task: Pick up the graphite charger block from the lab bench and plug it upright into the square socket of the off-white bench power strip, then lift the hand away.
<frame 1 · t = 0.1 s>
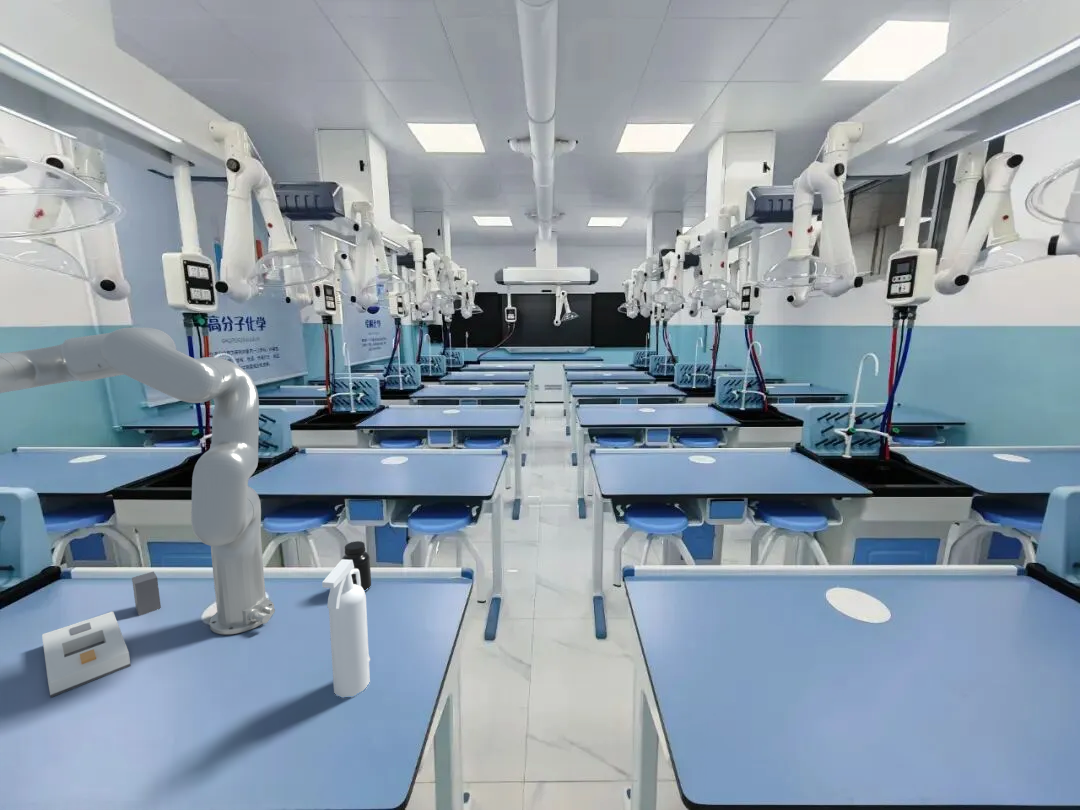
charger block: (148, 608, 111), on the table
white spray bottle: (353, 683, 89), on the table
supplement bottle: (357, 589, 121), on the table
power strip: (86, 656, 95), on the table
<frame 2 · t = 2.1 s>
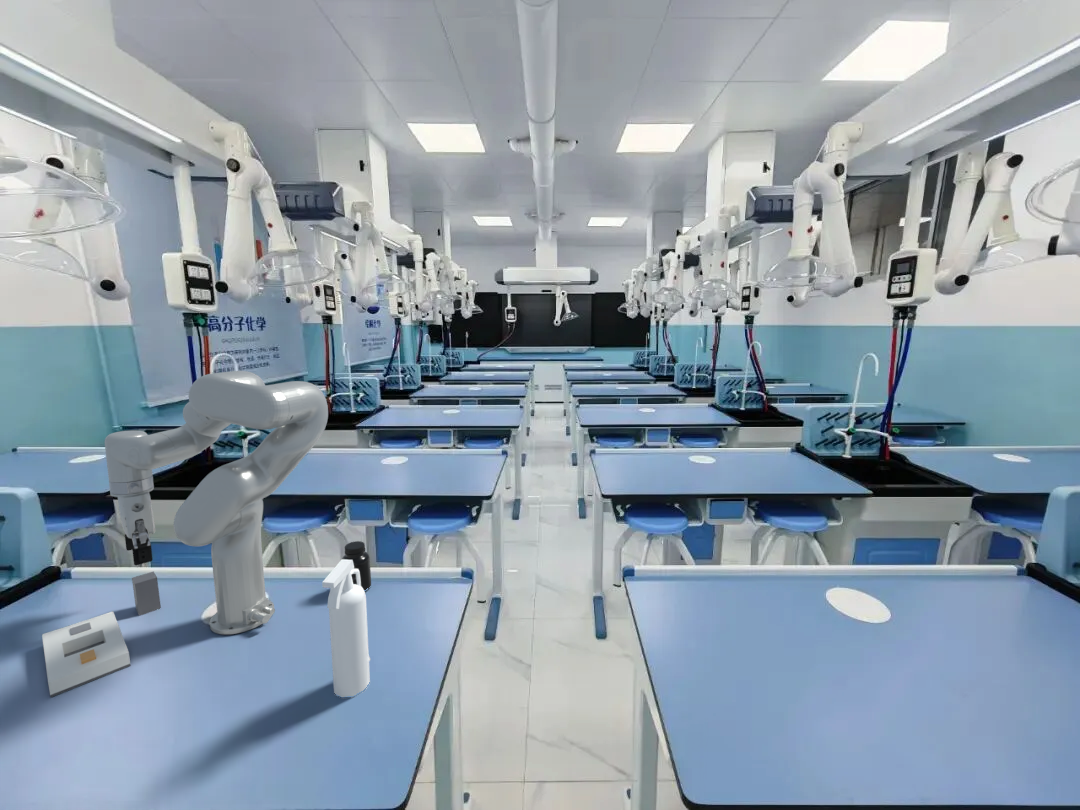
hand: (139, 555, 109), 13 cm above the table, tool pointing down, fingers open, 9 cm apart
nothing on the table moved.
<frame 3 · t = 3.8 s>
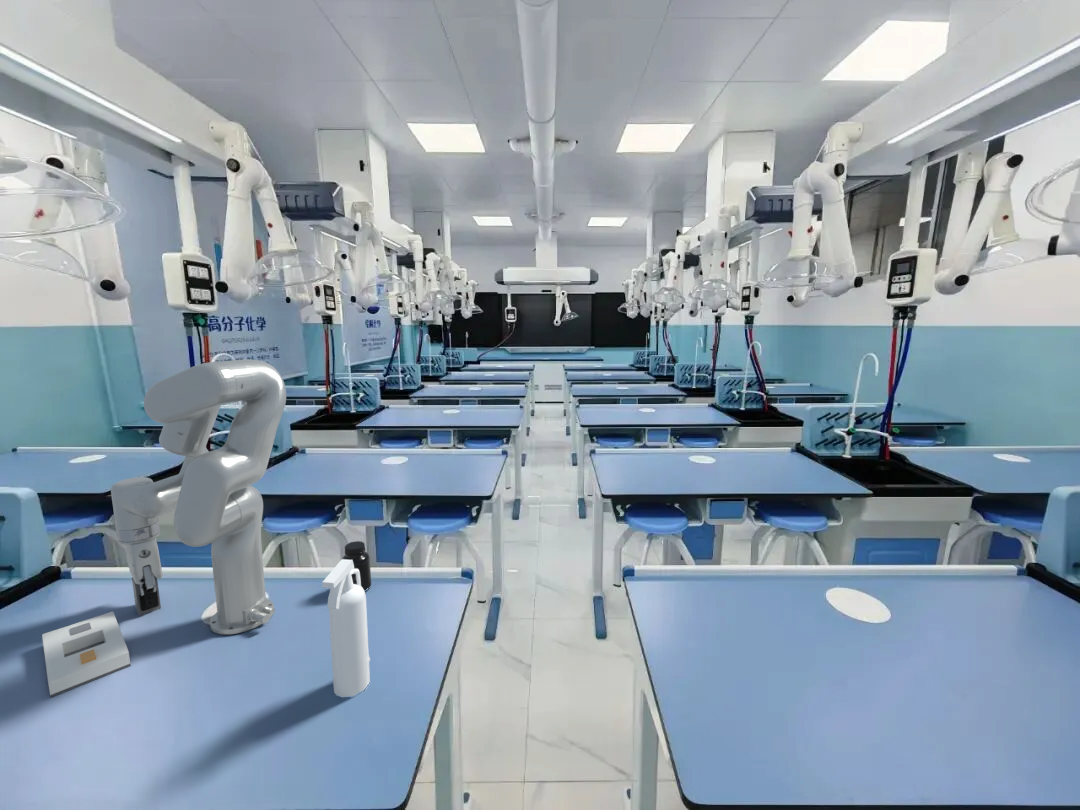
hand: (147, 603, 111), 1 cm above the table, tool pointing down, fingers closed on charger block, 4 cm apart
charger block: (148, 608, 111), on the table, touching gripper
everything else where it was.
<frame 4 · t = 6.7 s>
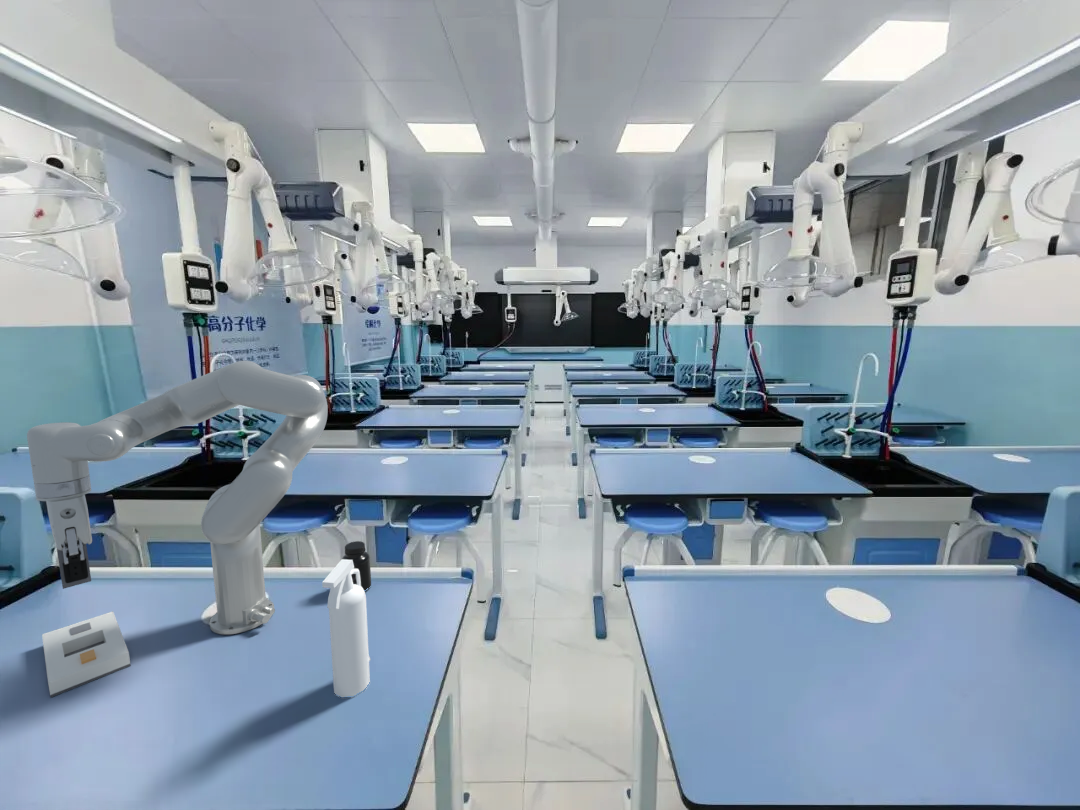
hand: (76, 574, 93), 17 cm above the table, tool pointing down, fingers closed on charger block, 4 cm apart
charger block: (76, 581, 93), point 16 cm above the table, touching gripper
everything else where it was.
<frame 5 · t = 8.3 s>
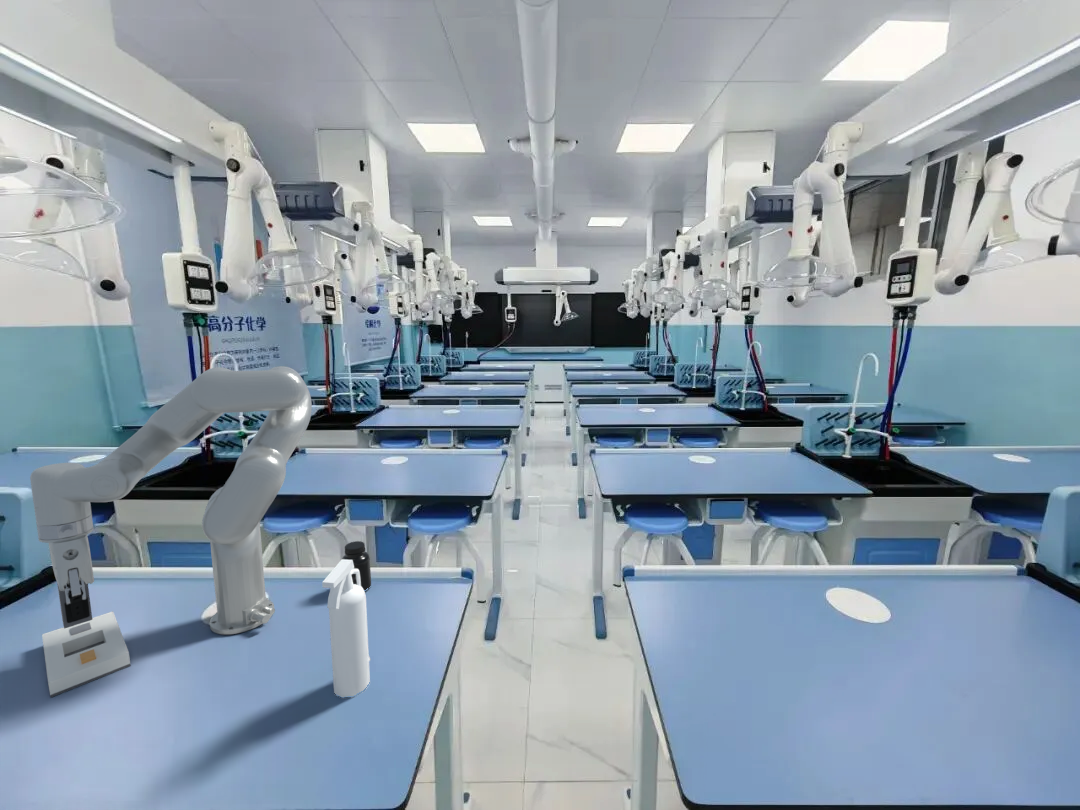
hand: (77, 613, 93), 10 cm above the table, tool pointing down, fingers closed on charger block, 4 cm apart
charger block: (77, 619, 94), point 8 cm above the table, touching gripper
everything else where it was.
when the fingers open (4 cm above the table, at t = 9.7 s): charger block drops 2 cm, resting on power strip.
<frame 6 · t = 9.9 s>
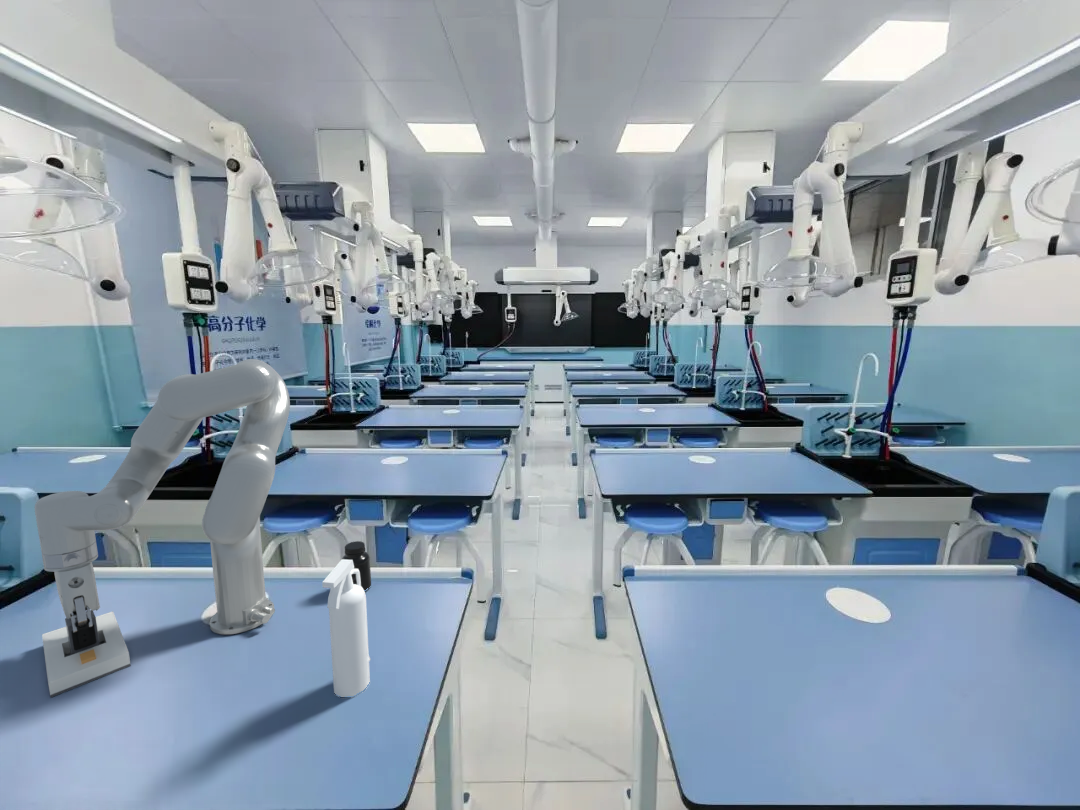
hand: (83, 638, 94), 4 cm above the table, tool pointing down, fingers open, 6 cm apart
charger block: (85, 654, 95), resting on power strip
everything else where it was.
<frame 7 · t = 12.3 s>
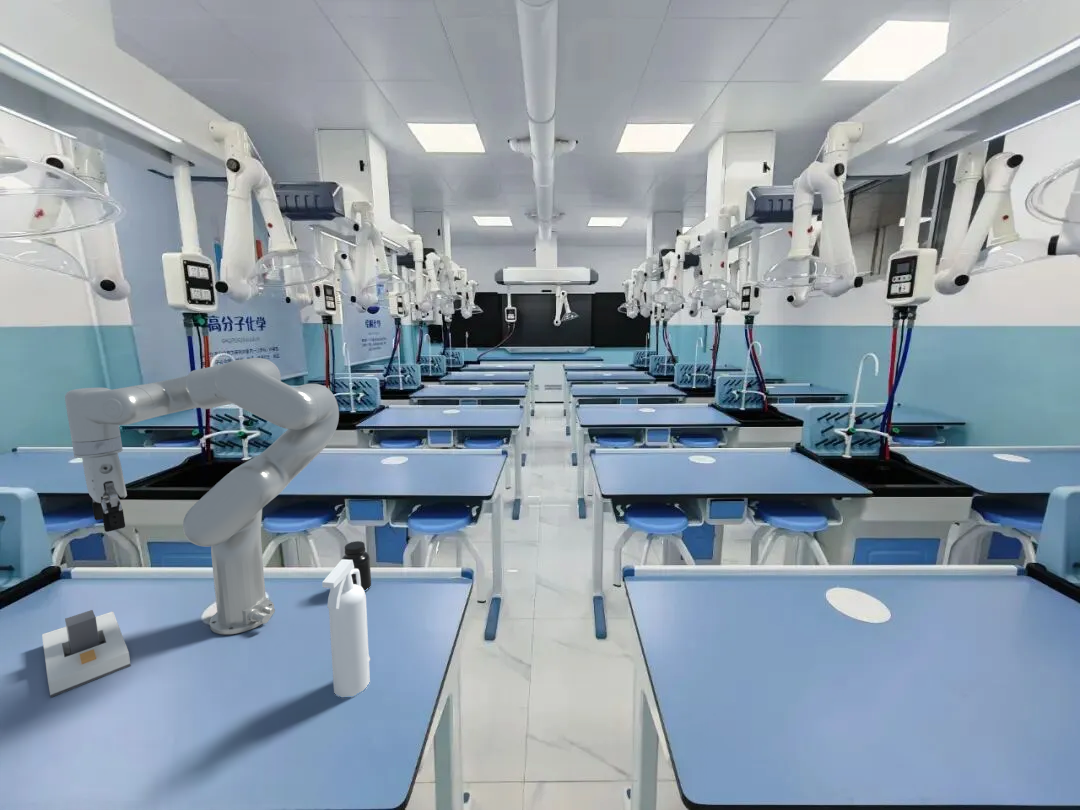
hand: (109, 523, 101), 24 cm above the table, tool pointing down, fingers open, 9 cm apart
nothing on the table moved.
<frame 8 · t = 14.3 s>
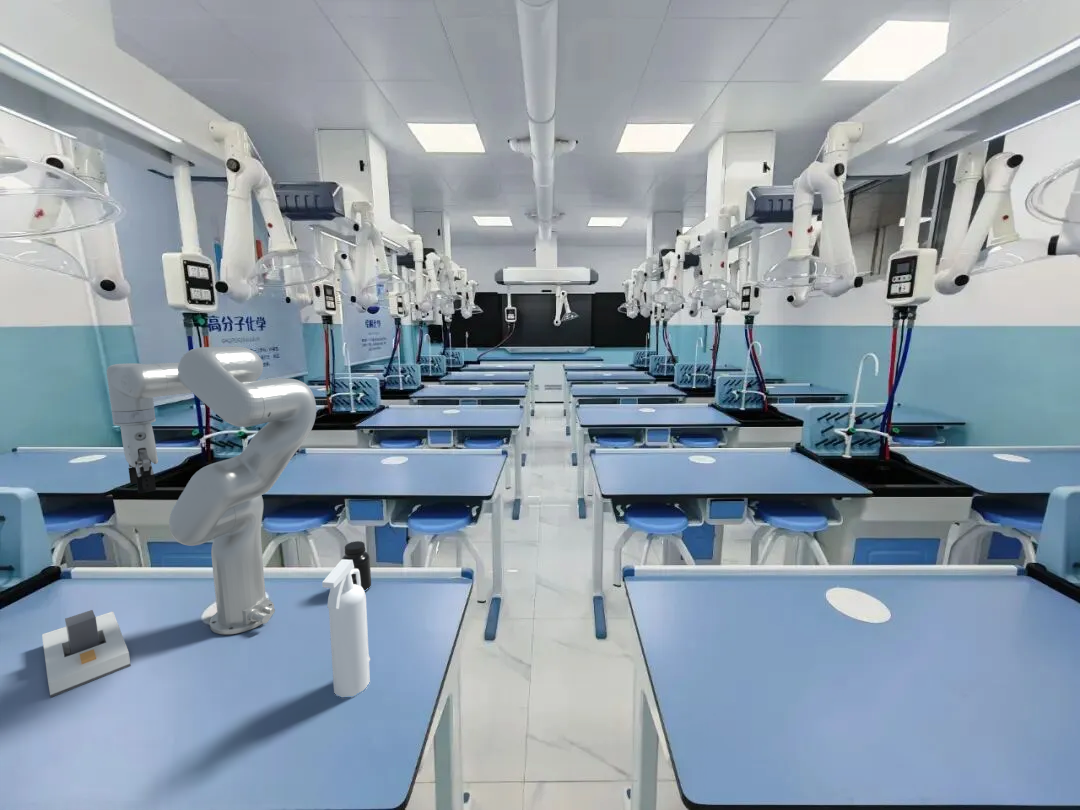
hand: (143, 487, 112), 28 cm above the table, tool pointing down, fingers open, 9 cm apart
nothing on the table moved.
at the end: charger block 0.0 cm off-centre on the power strip, point 0.5 cm above the power strip's base; charger block tilted 0°; the gripper is holding nothing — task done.
